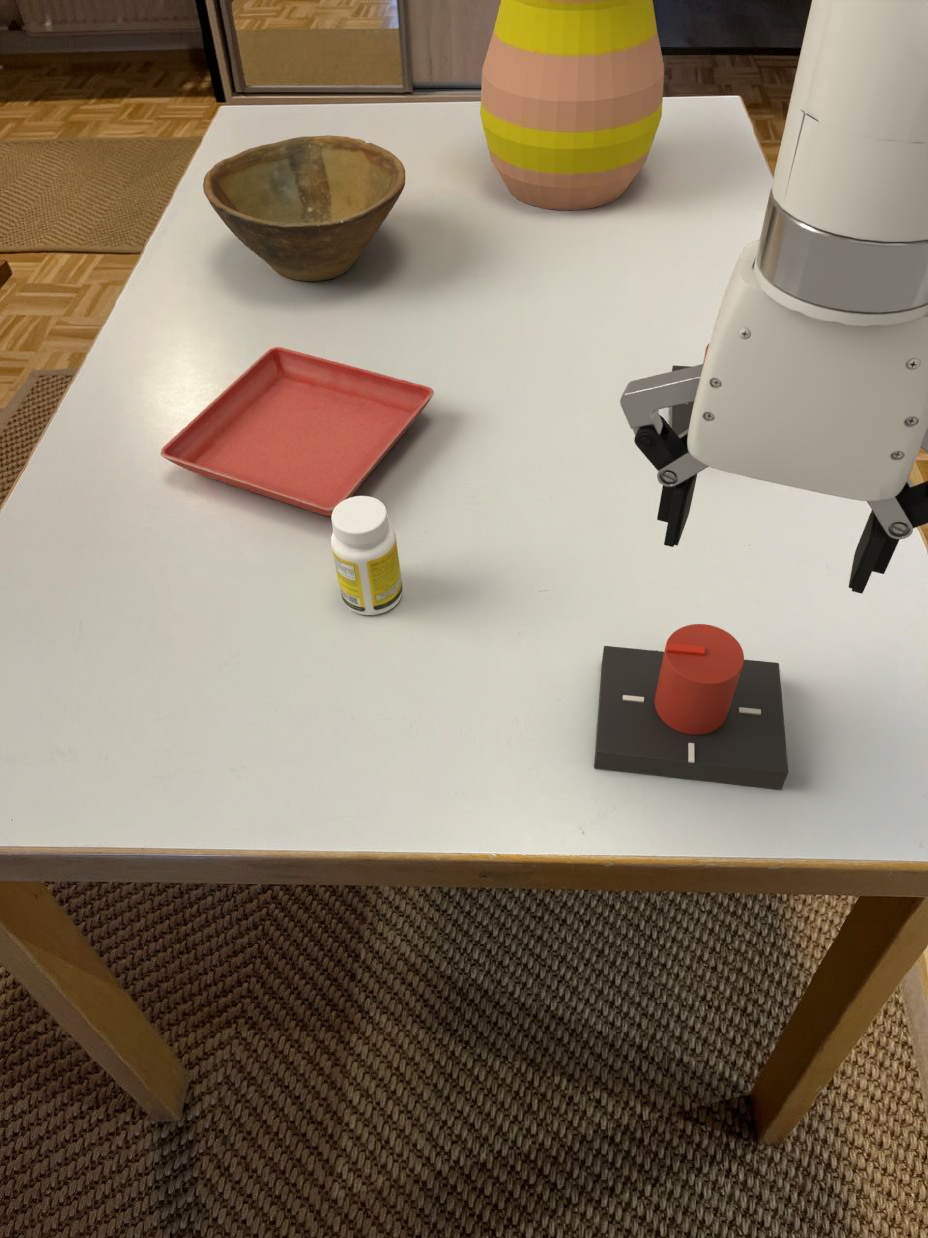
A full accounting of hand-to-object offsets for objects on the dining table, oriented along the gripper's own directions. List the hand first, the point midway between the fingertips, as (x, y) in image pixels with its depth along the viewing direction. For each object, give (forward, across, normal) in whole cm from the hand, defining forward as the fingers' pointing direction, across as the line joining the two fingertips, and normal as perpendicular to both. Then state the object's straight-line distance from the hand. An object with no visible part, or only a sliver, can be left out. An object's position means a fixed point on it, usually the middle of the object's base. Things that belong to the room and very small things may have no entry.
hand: (764, 551), depth 50 cm
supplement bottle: (+17, +27, -4) cm, 32 cm away
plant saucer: (+17, +41, -18) cm, 48 cm away
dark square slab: (+17, +6, -34) cm, 39 cm away
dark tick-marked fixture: (+17, +2, 0) cm, 17 cm away
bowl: (+17, +56, -49) cm, 77 cm away
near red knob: (+15, +2, 0) cm, 15 cm away
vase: (+17, +35, -78) cm, 87 cm away
